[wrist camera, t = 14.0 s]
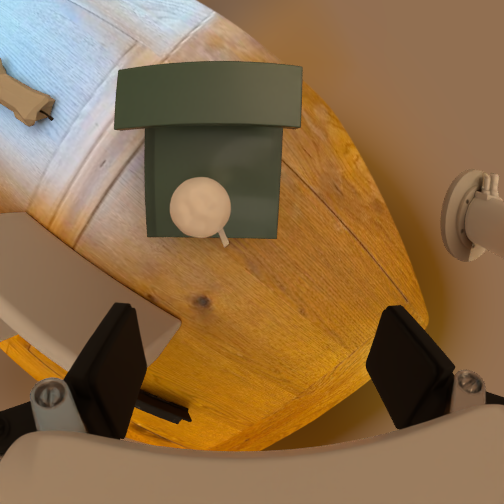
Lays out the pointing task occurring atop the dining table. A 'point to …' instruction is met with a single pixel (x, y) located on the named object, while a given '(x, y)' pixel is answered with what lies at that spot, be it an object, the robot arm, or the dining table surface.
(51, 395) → the robot arm
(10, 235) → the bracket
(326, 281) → the dining table surface
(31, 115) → the butternut squash
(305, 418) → the dining table surface
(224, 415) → the dining table surface
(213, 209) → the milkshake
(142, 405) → the handheld gaming console
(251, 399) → the dining table surface
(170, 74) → the shelf unit
